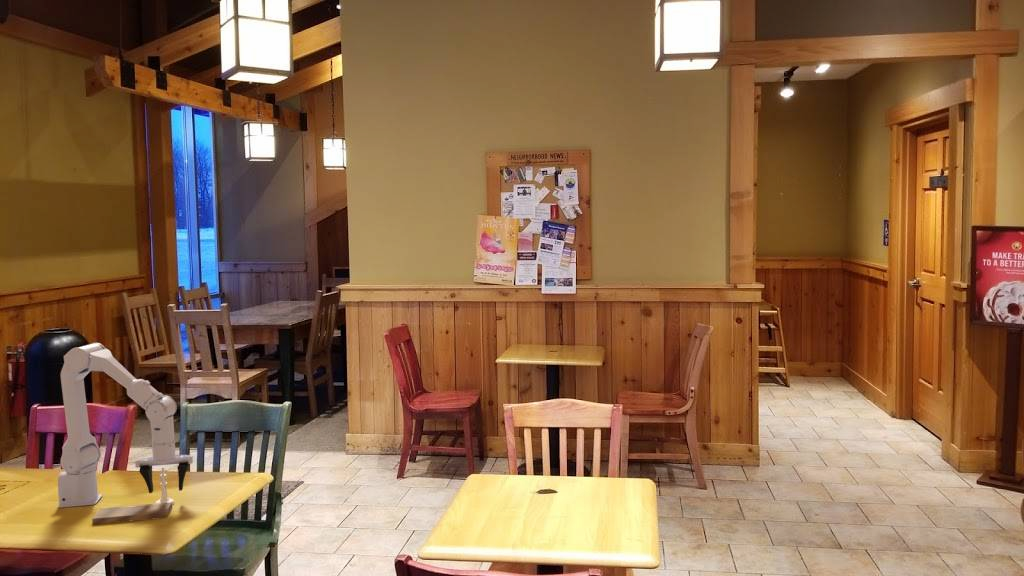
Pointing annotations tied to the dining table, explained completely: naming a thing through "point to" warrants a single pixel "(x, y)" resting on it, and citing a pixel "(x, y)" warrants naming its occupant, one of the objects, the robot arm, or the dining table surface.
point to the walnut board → (132, 513)
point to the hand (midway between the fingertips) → (166, 490)
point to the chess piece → (164, 489)
